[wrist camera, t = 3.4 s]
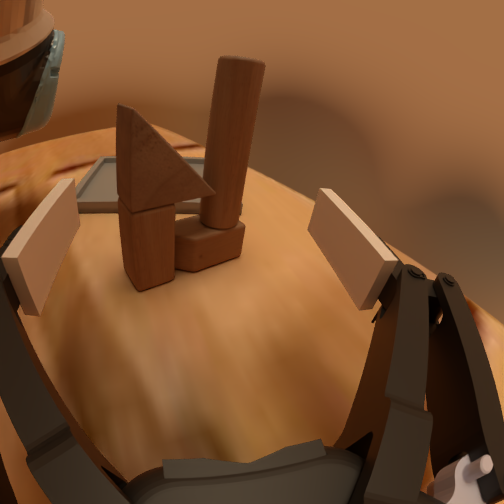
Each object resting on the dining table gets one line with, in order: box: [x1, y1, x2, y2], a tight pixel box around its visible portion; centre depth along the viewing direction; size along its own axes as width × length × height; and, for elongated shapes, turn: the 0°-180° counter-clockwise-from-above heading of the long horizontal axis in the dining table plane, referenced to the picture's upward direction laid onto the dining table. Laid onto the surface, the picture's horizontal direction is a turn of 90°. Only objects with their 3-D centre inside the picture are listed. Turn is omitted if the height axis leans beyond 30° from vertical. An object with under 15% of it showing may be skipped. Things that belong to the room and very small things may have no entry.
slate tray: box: [75, 156, 243, 215], centre depth 39 cm, size 22×18×2 cm
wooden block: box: [116, 56, 265, 291], centre depth 21 cm, size 4×11×18 cm, turn 130°
